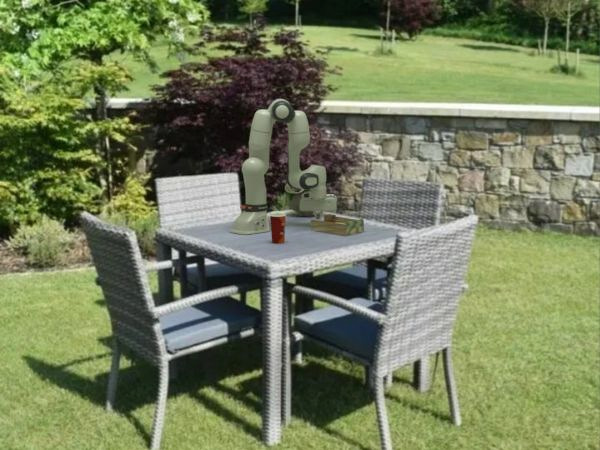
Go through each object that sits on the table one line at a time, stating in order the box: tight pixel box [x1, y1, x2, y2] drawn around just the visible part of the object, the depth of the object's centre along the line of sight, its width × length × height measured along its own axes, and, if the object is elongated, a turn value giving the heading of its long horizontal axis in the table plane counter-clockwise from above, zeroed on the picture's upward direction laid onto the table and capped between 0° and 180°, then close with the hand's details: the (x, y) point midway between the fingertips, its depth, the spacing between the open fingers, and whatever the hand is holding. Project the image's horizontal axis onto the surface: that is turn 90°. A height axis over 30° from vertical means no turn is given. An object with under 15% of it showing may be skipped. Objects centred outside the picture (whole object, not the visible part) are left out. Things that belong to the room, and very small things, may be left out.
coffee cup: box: [269, 210, 287, 245], centre depth 373 cm, size 8×8×15 cm
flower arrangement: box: [284, 183, 314, 217], centre depth 447 cm, size 25×25×24 cm
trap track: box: [310, 216, 365, 237], centre depth 401 cm, size 16×23×7 cm
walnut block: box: [323, 213, 337, 223], centre depth 408 cm, size 4×4×4 cm
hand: (318, 219), depth 413 cm, fingers closed
